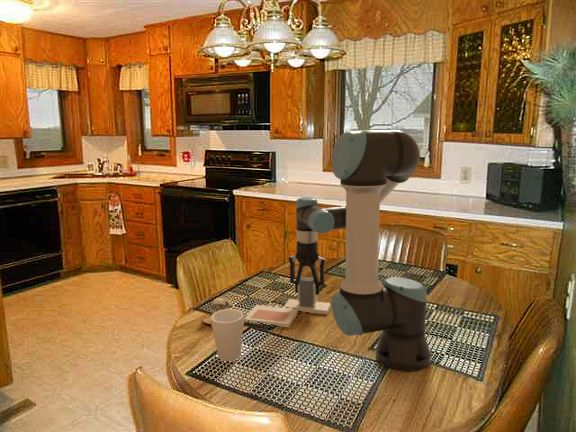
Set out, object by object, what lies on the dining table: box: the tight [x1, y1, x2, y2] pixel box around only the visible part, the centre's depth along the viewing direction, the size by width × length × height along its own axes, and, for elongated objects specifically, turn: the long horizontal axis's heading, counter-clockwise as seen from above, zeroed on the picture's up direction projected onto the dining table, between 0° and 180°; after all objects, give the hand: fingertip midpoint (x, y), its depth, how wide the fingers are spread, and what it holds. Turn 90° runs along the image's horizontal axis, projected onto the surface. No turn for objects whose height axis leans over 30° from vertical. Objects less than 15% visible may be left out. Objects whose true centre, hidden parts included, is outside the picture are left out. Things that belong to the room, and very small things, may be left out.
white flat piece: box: [244, 303, 299, 328], centre depth 153 cm, size 13×16×2 cm
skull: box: [204, 297, 231, 325], centre depth 152 cm, size 12×10×10 cm
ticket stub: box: [283, 276, 332, 316], centre depth 159 cm, size 7×16×12 cm, turn 74°
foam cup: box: [210, 308, 245, 361], centre depth 126 cm, size 10×9×13 cm
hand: (307, 301), depth 160 cm, fingers closed on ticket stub, 5 cm apart
